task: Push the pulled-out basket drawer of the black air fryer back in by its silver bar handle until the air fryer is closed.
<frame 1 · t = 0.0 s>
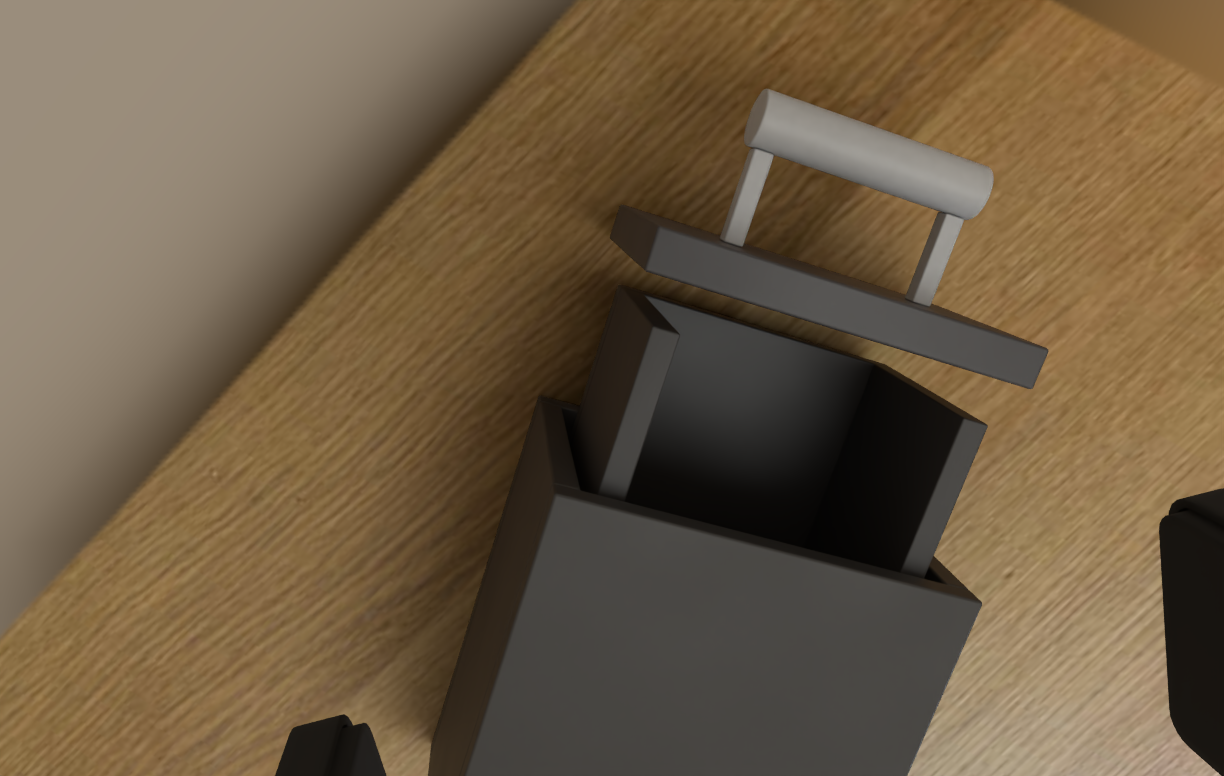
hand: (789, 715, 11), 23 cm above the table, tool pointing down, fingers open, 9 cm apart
basket: (763, 410, 29), point 5 cm above the table, slide at 6.0 cm
air fryer: (642, 615, 36), on the table
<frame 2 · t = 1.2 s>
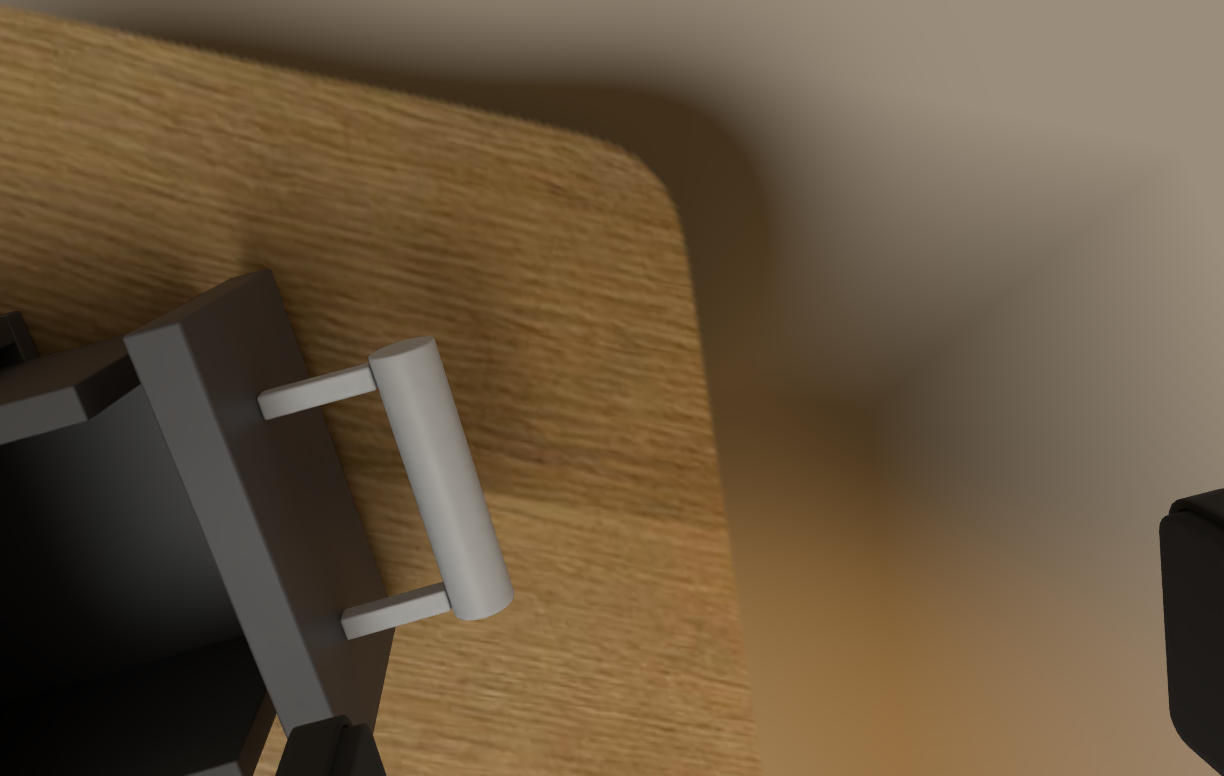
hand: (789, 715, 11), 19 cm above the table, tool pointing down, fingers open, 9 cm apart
basket: (134, 554, 24), point 5 cm above the table, slide at 6.0 cm
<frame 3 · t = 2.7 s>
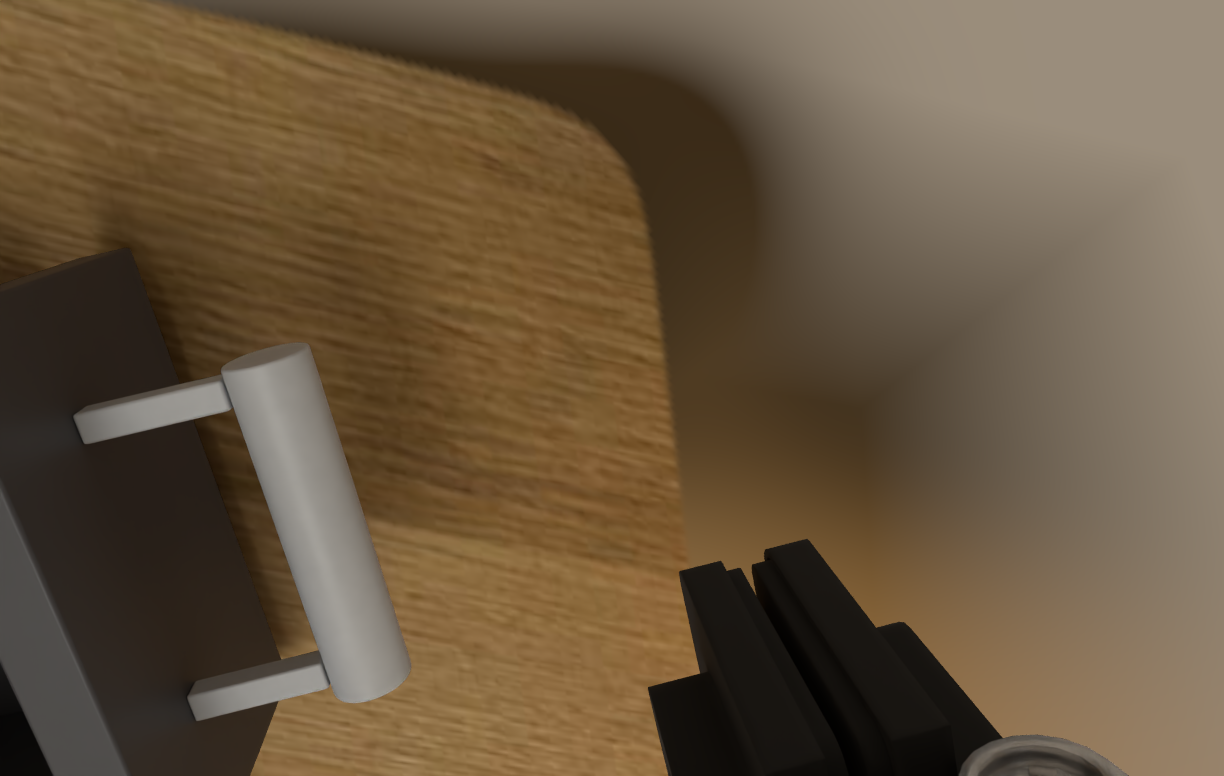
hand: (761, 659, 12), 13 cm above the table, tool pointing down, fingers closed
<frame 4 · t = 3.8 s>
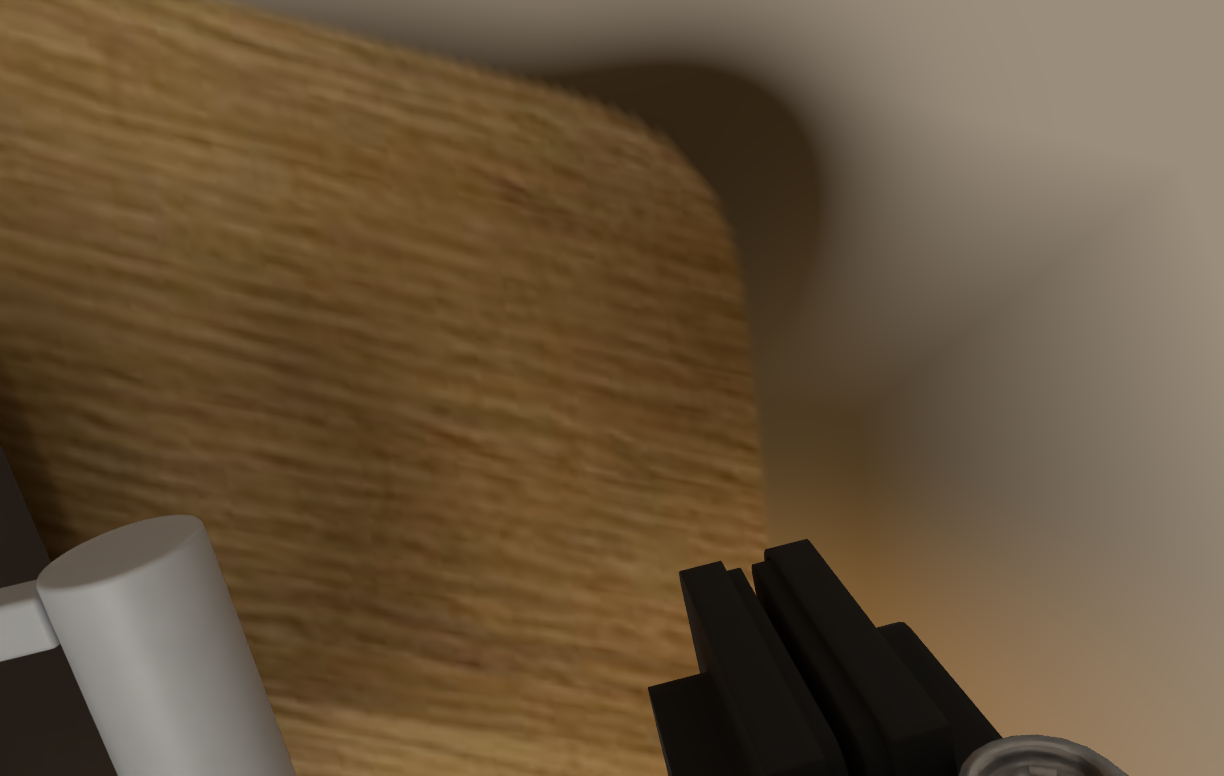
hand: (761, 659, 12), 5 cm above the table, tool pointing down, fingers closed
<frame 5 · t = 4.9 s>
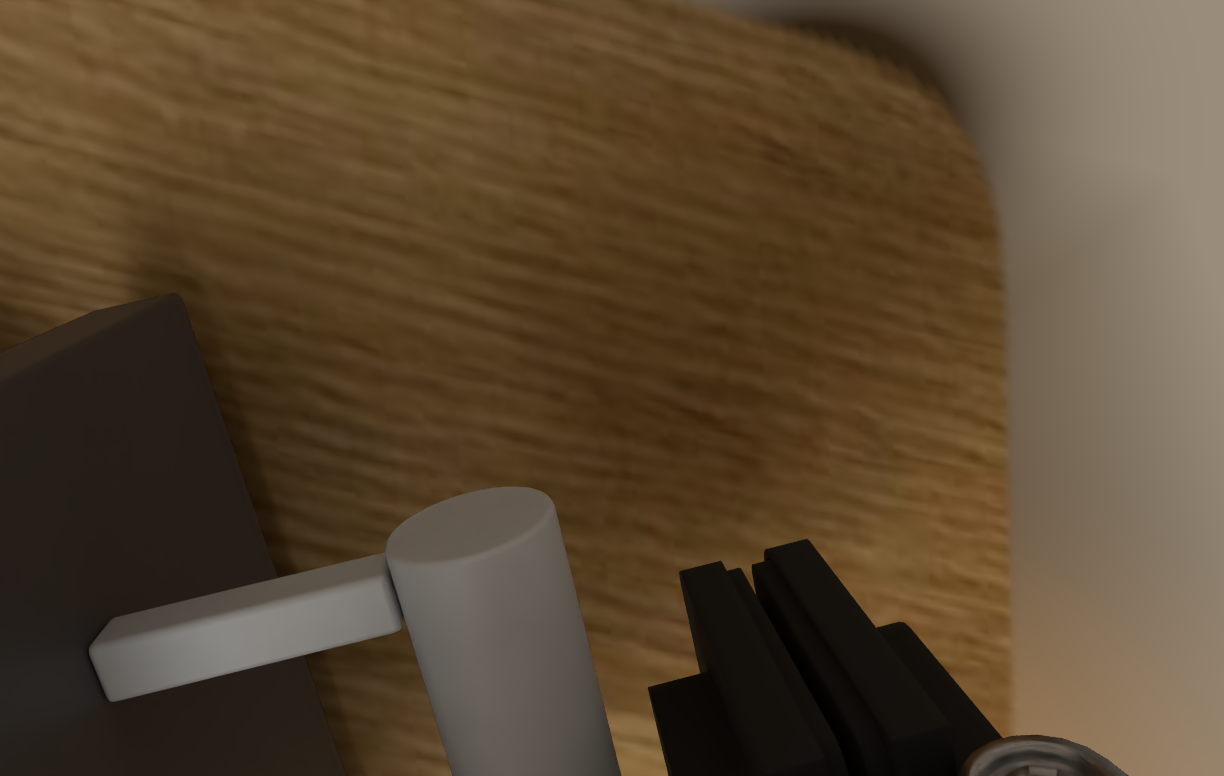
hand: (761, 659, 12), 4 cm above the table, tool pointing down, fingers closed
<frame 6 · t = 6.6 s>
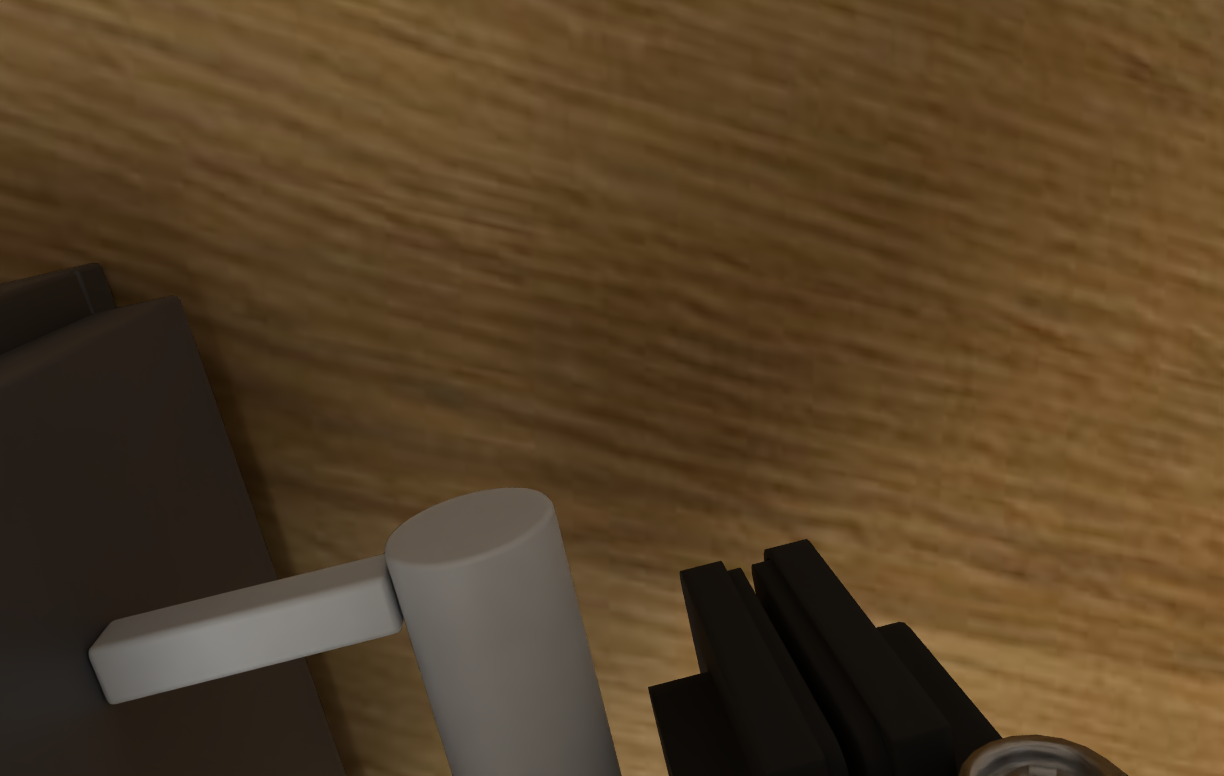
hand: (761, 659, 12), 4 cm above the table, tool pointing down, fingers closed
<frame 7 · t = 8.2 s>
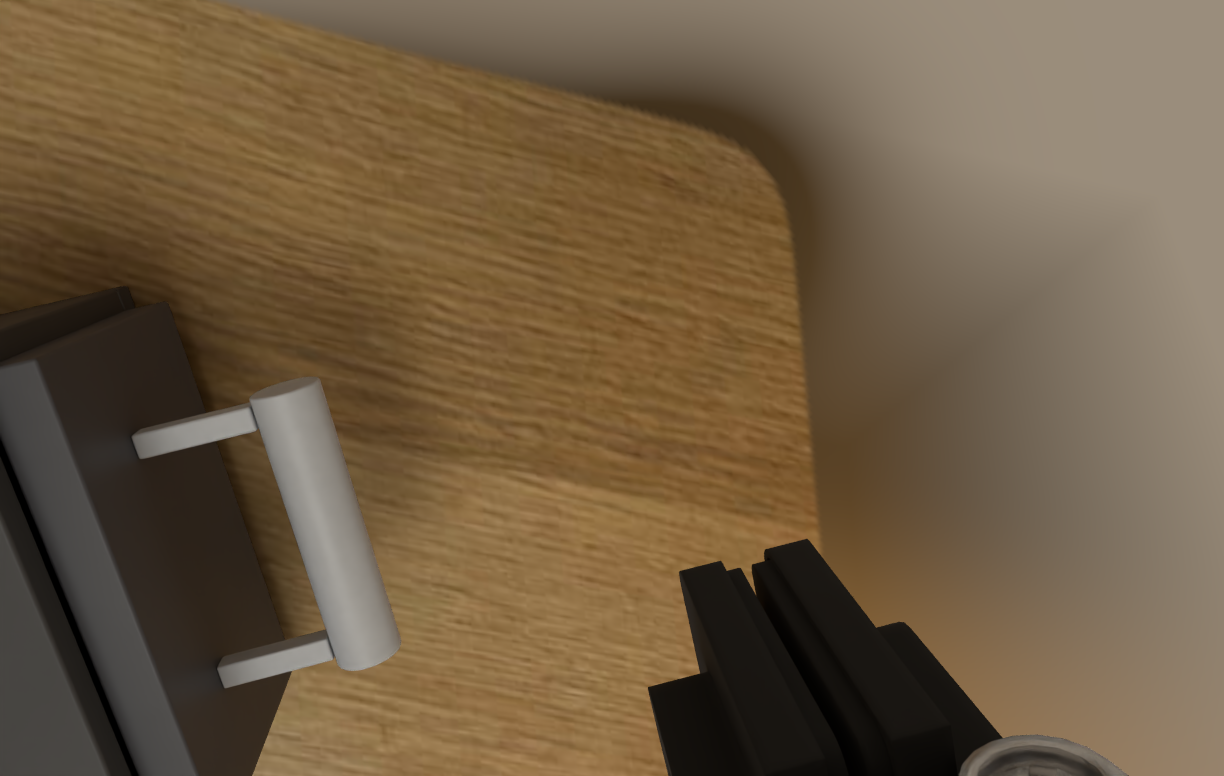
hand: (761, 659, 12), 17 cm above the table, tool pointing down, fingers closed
basket: (4, 594, 23), point 5 cm above the table, slide at 0.0 cm, touching air fryer
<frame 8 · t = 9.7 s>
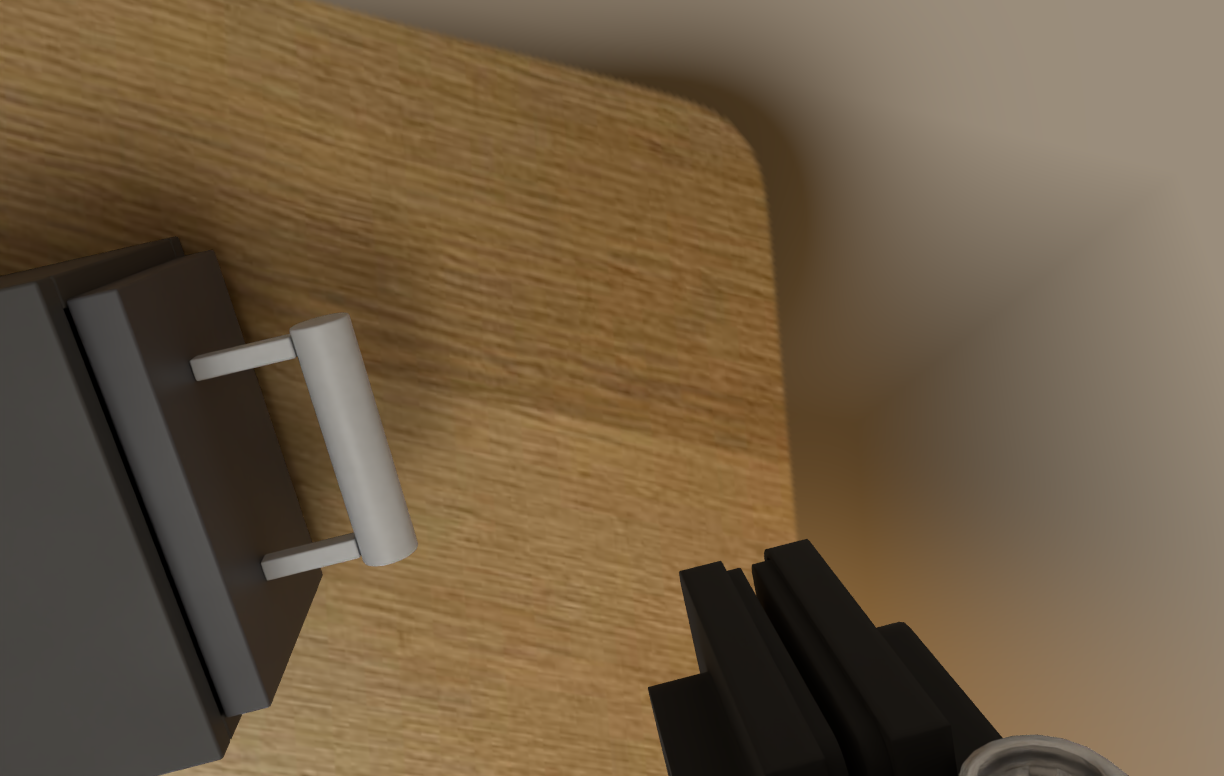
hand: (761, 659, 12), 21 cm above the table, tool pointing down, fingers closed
basket: (79, 498, 27), point 5 cm above the table, slide at 0.0 cm, touching air fryer
air fryer: (22, 473, 31), on the table
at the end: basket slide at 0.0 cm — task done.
